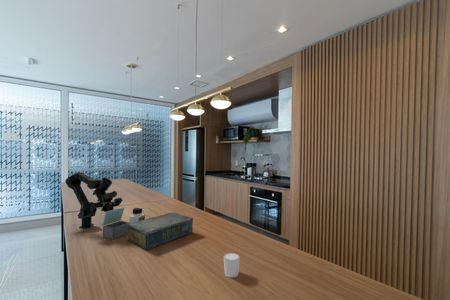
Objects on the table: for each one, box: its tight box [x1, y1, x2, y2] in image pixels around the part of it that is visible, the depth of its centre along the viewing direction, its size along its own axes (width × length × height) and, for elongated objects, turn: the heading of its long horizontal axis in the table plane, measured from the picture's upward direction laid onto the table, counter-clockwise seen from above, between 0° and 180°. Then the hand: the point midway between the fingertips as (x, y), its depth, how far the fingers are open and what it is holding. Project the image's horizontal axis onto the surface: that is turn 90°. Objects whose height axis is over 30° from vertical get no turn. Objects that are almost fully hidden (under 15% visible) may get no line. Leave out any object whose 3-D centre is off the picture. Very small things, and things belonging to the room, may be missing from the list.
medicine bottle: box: [129, 207, 146, 223], centre depth 147 cm, size 7×7×12 cm
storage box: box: [102, 220, 130, 240], centre depth 131 cm, size 9×12×6 cm
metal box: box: [127, 212, 194, 251], centre depth 128 cm, size 21×32×10 cm, turn 140°
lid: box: [101, 206, 125, 227], centre depth 133 cm, size 9×12×1 cm
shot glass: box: [223, 252, 241, 278], centre depth 89 cm, size 7×7×7 cm
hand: (113, 215), depth 133 cm, fingers closed, pressing on lid
